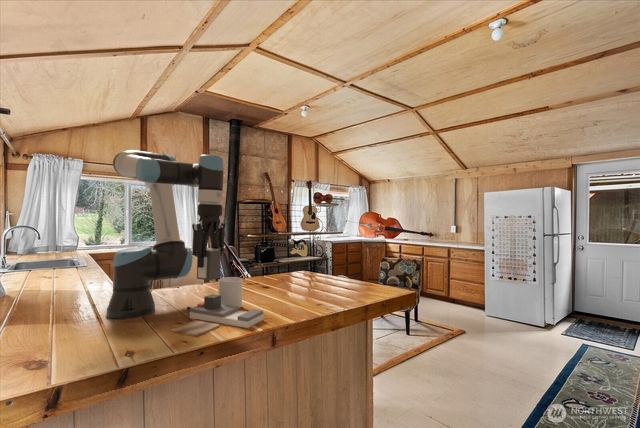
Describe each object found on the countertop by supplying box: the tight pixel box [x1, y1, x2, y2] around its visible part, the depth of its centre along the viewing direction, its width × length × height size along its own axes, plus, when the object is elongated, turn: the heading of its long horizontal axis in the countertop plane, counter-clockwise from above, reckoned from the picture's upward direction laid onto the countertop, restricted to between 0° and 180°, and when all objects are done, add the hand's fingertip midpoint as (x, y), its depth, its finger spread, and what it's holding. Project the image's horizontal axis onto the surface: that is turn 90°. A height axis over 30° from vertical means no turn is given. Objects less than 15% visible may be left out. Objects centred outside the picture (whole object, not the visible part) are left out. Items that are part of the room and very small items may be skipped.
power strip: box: [189, 293, 264, 329], centre depth 112 cm, size 24×9×7 cm, turn 67°
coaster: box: [171, 319, 221, 338], centre depth 102 cm, size 10×10×1 cm
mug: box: [217, 276, 243, 309], centre depth 127 cm, size 12×9×11 cm
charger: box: [196, 247, 221, 281], centre depth 105 cm, size 5×5×9 cm
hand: (208, 275), depth 105 cm, fingers closed on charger, 5 cm apart
